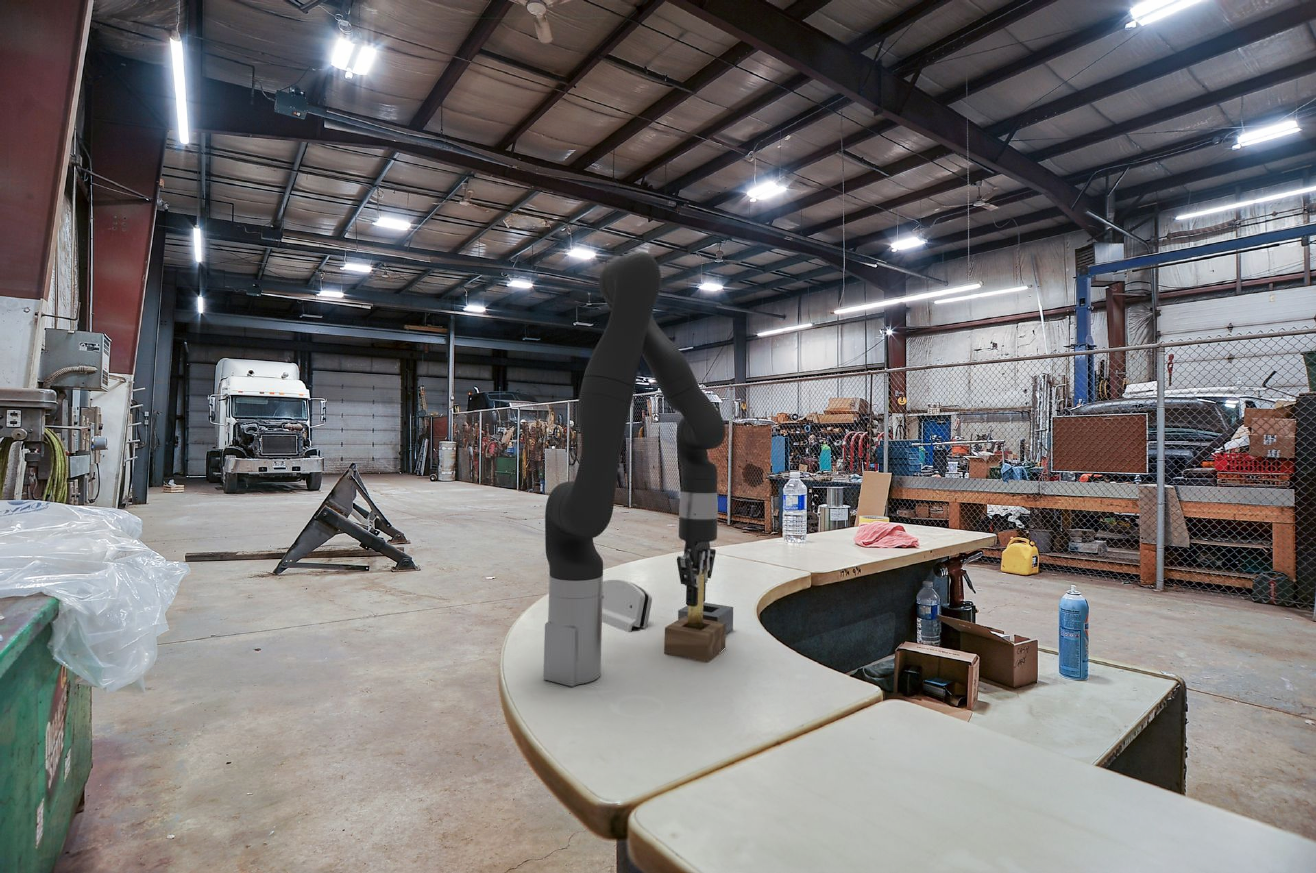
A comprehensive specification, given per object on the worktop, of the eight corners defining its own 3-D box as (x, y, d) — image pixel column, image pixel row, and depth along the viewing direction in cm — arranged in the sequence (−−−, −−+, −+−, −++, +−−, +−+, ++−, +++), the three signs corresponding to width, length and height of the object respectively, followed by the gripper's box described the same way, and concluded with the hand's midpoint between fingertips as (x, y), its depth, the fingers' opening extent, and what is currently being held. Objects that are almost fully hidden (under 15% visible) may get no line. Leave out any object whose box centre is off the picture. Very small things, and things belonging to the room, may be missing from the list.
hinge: (584, 614, 140) (597, 572, 142) (599, 618, 143) (611, 576, 145) (629, 632, 127) (643, 586, 130) (645, 636, 130) (658, 590, 133)
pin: (698, 643, 115) (700, 575, 115) (684, 641, 116) (686, 573, 116) (704, 639, 117) (706, 573, 118) (690, 636, 119) (692, 571, 119)
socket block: (717, 641, 123) (717, 617, 123) (677, 634, 127) (678, 610, 127) (732, 629, 131) (733, 606, 131) (695, 623, 135) (695, 601, 135)
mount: (707, 662, 111) (707, 635, 111) (664, 653, 115) (664, 627, 115) (725, 648, 119) (725, 623, 119) (684, 640, 123) (684, 616, 123)
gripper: (701, 520, 109) (698, 615, 109) (729, 513, 122) (726, 599, 121) (664, 516, 113) (661, 608, 112) (695, 510, 125) (693, 593, 125)
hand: (695, 603), depth 117 cm, fingers closed on pin, 3 cm apart
